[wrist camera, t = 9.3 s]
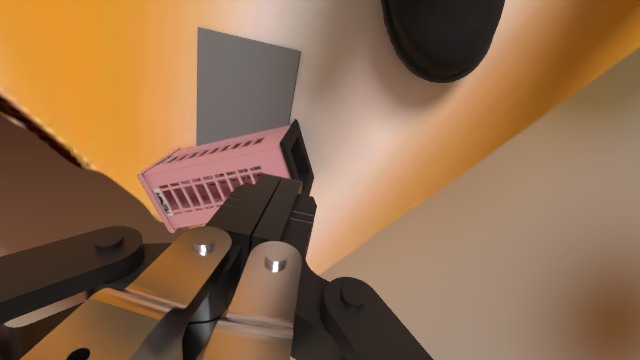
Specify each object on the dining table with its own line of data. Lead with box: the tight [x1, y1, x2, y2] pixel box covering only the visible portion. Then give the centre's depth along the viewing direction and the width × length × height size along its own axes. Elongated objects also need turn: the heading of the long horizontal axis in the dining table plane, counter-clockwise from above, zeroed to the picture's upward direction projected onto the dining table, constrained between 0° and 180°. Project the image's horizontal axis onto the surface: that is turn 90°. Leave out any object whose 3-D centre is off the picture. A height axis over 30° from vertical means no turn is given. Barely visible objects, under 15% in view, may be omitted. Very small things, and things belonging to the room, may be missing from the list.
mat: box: [196, 27, 301, 178], centre depth 38 cm, size 12×18×1 cm, turn 168°
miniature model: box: [137, 119, 314, 233], centre depth 37 cm, size 9×9×20 cm
